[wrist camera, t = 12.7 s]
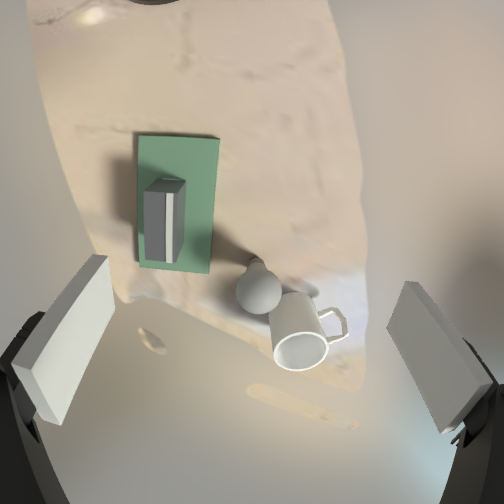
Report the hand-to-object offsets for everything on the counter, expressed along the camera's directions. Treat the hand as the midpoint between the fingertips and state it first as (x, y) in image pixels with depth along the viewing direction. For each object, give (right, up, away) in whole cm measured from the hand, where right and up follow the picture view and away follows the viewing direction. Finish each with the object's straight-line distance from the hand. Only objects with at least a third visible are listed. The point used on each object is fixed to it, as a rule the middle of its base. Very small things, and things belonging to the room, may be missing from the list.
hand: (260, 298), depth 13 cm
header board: (-12, +9, +31) cm, 34 cm away
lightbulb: (0, 0, +35) cm, 35 cm away
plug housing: (-12, +8, +30) cm, 33 cm away
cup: (+8, -8, +40) cm, 41 cm away
